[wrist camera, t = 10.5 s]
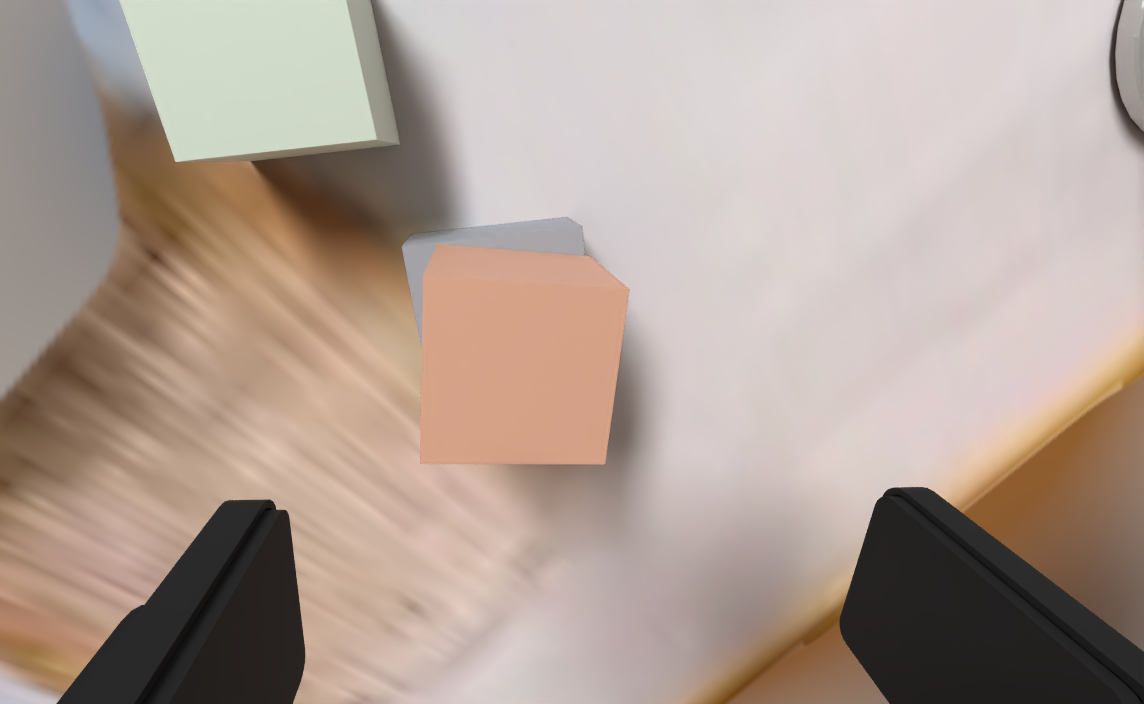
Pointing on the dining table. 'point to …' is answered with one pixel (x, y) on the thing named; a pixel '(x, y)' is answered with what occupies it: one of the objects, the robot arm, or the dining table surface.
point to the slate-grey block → (489, 246)
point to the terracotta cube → (518, 357)
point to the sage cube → (264, 76)
